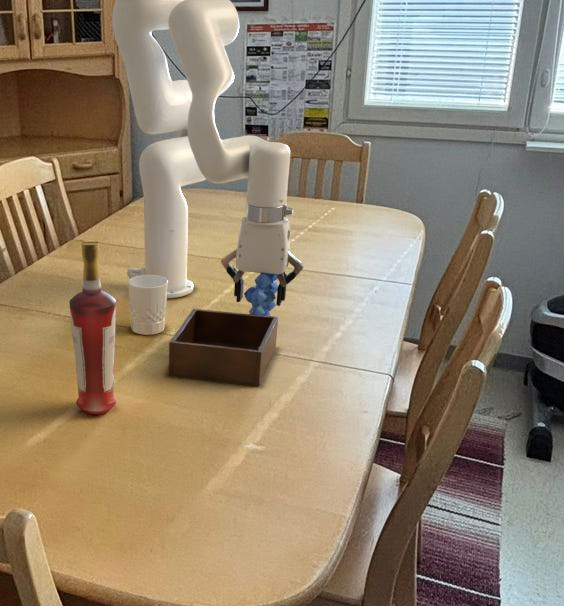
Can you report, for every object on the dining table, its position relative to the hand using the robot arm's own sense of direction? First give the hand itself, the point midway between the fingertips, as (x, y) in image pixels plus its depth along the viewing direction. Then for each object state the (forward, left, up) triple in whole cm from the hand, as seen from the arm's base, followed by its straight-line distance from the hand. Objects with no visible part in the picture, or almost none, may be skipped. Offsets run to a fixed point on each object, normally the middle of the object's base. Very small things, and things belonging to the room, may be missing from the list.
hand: (259, 301), depth 174 cm
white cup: (-21, -9, -5) cm, 23 cm away
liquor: (-19, -46, -5) cm, 50 cm away
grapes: (0, 0, -5) cm, 5 cm away
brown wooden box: (-3, -21, -5) cm, 22 cm away
